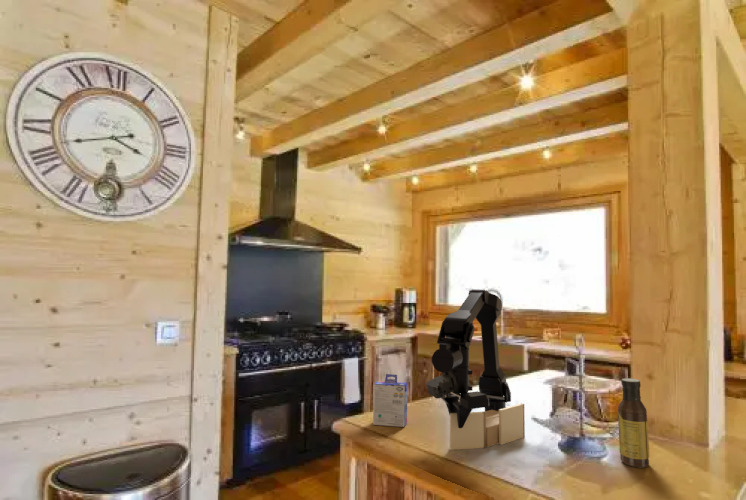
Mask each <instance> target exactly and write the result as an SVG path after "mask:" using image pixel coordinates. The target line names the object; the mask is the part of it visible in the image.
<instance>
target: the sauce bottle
mask: <svg viewBox="0 0 746 500" xmlns="http://www.w3.org/2000/svg"><path fill="white" fill-rule="evenodd" d="M620 383H621V386H622V399H621V401H620V402H619V404H618V406H617V420H618V443H619V444H618V445H619V447H618V448H619V455H620V461H621V462H622V463H623V464H625V465H627V466H629V467H634V468H637V469H638V468H639V469H641V468H642V469H643V468H648V466H649V465H650V460H649V459H650V444H649V443H650V441H649V424H648V423H649V420H648V411H647V408H646V406H645V405H644V403H643V402H642V398H641V380H639V379H636V378H631V377H629V378H621V382H620Z"/></svg>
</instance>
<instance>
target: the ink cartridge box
mask: <svg viewBox="0 0 746 500" xmlns="http://www.w3.org/2000/svg"><path fill="white" fill-rule="evenodd" d="M391 377H393V379H392V378H391ZM372 409H373V413H372V415H373V416H372V419H373V420H372V425H374V426H383V427H385V426H387V427H401V428H405V427H406V425H407V423H408V382H404V381H403V382H401V381H398V374H388V373H386V374H385V379H384V381H379V380H378V381H376V382H375V383H374V384H373V407H372Z"/></svg>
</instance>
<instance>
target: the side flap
mask: <svg viewBox="0 0 746 500" xmlns="http://www.w3.org/2000/svg"><path fill="white" fill-rule="evenodd" d="M525 422H526V421H525V404H524V403H518V404H514V405H512V406H508V407H506V408H503V409H499V443H498V445H504V444H508V443H511V442H513V441H517V440H521V439H522V438H525V436H526V435H525V433H526V432H525V431H526V429H525V428H526V427H525Z"/></svg>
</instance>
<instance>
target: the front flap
mask: <svg viewBox="0 0 746 500" xmlns="http://www.w3.org/2000/svg"><path fill="white" fill-rule="evenodd" d="M486 448H487V447H486V412H485V411H475V412H474V411H473V412H472V411H471V412H470V414H469V416H468V418H467V420H466V422H465V424H464V426H463V428H458V421H457V413H450V415H449V449H450V450H454V451H455V450H467V449H468V450H470V449H486Z"/></svg>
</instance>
